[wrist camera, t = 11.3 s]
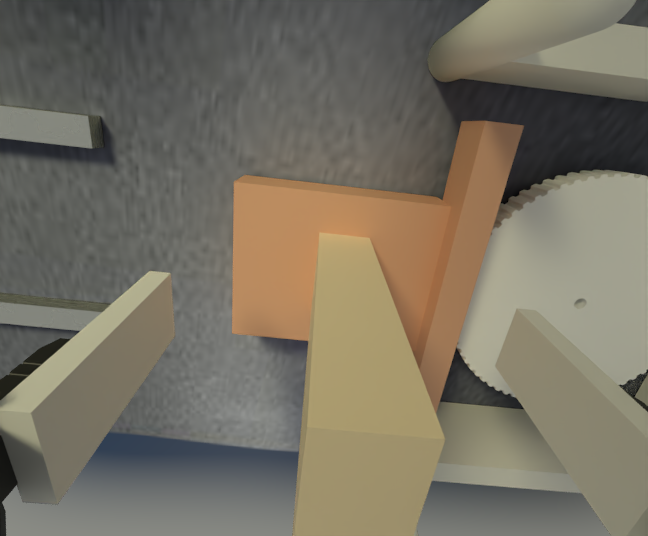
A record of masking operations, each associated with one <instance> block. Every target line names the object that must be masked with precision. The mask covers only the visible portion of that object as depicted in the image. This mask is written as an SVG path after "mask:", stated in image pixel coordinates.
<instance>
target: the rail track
mask: <svg viewBox="0 0 648 536" xmlns="http://www.w3.org/2000/svg"><path fill="white" fill-rule="evenodd" d="M0 138H5V139H14V140H22V141H31V142H40V143H48V144H57V145H66V146H75V147H83V148H92V149H93V148H102V147H104V142H103V134H102V126H101V118H100V116H92V115H84V114H75V113H67V112H58V111H50V110H41V109H33V108H25V107H16V106H8V105H0ZM110 305H111V304H104V303H94V302H83V301H73V300H63V299H53V298H43V297H33V296H23V295H13V294H3V293H0V323H4V324H14V325H24V326H35V327H45V328H56V329H66V330H76V331H81V330H82V329H83V328H85V327H86V326H87V325H88V324H89V323H90V322H92V321H93V320H94V319H95V318H96V317H97V316H98V315H100V314H101V313H102V312H103V311H104V310H105V309H107V308H108V307H109V306H110Z"/></svg>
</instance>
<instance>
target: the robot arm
mask: <svg viewBox="0 0 648 536" xmlns="http://www.w3.org/2000/svg"><path fill="white" fill-rule="evenodd" d="M174 337H175V329H174V314H173V299H172V285H171V273H163V272H154V271H149V272H148V273H147V274H146V275H145V276H143V277H142V278H141V279H140V280H139V281H138V282H137V283H135V284H134V285H133V286H132V287H131V288H130V289H128V290H127V291H126V292H125V293H124V294H123V295H122V296H120V297H119V298H118V299H117V300H116V301H115V302H113V303H112V304H111V305H110V306H109V307H108V308H107V309H105V310H104V311H103V312H102V313H101V314H100V315H98V316H97V317H96V318H95V319H94V320H93V321H92V322H90V323H89V324H88V325H87V326H86V327H85V328H83V329H82V330H81V331H80V332H79V333H78V334H77V335H75V336H74V337H73V338H72V339H62V338H60V339H58V340H56V341H54V342H52V343H50V344H48V345H46V346H44V347H42V348H40V349H38V350H37V351H36V352H35V353H33V354H32V355H31V356H30V357H28V358H27V359H26V360H25V361H23V364H20V365H18V366H17V367H16V368H15V369H13V370H12V371H11V372H10V374H9V375H6V376H5V377H4V378H2V379H1V380H0V536H6V516H5V509H4V506H3V504H2V501H3V500H4V499H5V498H6V497H7V496H8V494H9V493H10V492H11V491H12V490H13V488H14V487H15V486H16V485H17V487H18V490H19V493H20V496H21V499H22V501H23V502H26V503H39V504H52V505H58V504H59V502H60V501H61V499H62V498H63V497H64V495H65V494H66V492H67V491H68V489H69V488H70V486H71V485H72V484H73V482H74V481H75V479H76V478H77V476H78V475H79V473H80V472H81V471H82V469H83V468H84V466H85V465H86V463H87V462H88V461H89V459H90V458H91V456H92V455H93V453H94V452H95V450H96V449H97V448H98V446H99V445H100V443H101V442H102V440H103V439H104V437H105V436H106V435H107V433H108V432H109V430H110V429H111V427H112V426H113V424H114V423H115V422H116V420H117V419H118V417H119V416H120V414H121V413H122V412H123V410H124V409H125V407H126V406H127V404H128V403H129V401H130V400H131V399H132V397H133V396H134V394H135V393H136V391H137V390H138V388H139V387H140V386H141V384H142V383H143V381H144V380H145V378H146V377H147V375H148V374H149V373H150V371H151V370H152V368H153V367H154V365H155V364H156V362H157V361H158V360H159V358H160V357H161V355H162V354H163V352H164V351H165V350H166V348H167V347H168V345H169V344H170V342H171V341H172V339H173V338H174ZM495 367H496V368H497V370H498V371H499V373H500V374H501V376H502V377H503V379H504V380H505V381H506V383H507V384H508V386H509V387H510V389H511V390H512V392H513V393H514V395H515V396H516V398H517V399H518V401H519V402H520V403H521V405H522V406H523V408H524V409H525V411H526V412H527V414H528V415H529V417H530V418H531V420H532V421H533V422H534V424H535V425H536V427H537V428H538V430H539V431H540V433H541V434H542V436H543V437H544V439H545V440H546V441H547V443H548V444H549V446H550V447H551V449H552V450H553V452H554V453H555V455H556V456H557V458H558V459H559V460H560V462H561V463H562V465H563V466H564V468H565V469H566V471H567V472H568V474H569V475H570V477H571V478H572V479H573V481H574V482H575V484H576V485H577V487H578V488H579V490H580V491H581V493H582V494H583V496H584V497H585V498H586V500H587V501H588V503H589V504H590V506H591V507H592V509H593V510H594V512H595V513H596V515H597V516H598V517H599V519H600V520H601V522H602V523H603V525H604V526H605V528H606V529H607V531H608V532H609V534H610V535H611V536H648V406H647V405H646V404H645V403H643V402H642V401H640V400H639V399H637V398H636V397H634V396H632V395H631V394H629V393H628V392H626V391H625V390H623V389H622V388H621V387H620V386H619V385H617V384H616V383H615V382H614V381H613V380H612V379H611V378H610V377H609V376H608V375H606V374H605V373H604V372H603V371H602V370H601V369H600V368H599V367H598V366H597V365H596V364H594V363H593V362H592V361H591V360H590V359H589V358H588V357H587V356H586V355H585V354H583V353H582V352H581V351H580V350H579V349H578V348H577V347H576V346H575V345H574V344H572V343H571V342H570V341H569V340H568V339H567V338H566V337H565V336H564V335H563V334H562V333H560V332H559V331H558V330H557V329H556V328H555V327H554V326H553V325H552V324H551V323H549V322H548V321H547V320H546V319H545V318H544V317H543V316H542V315H541V314H540V313H538V312H537V311H536V310H528V309H518V308H517V309H516V312H515V314H514V317H513V320H512V322H511V325H510V327H509V330H508V333H507V335H506V338H505V341H504V343H503V346H502V349H501V351H500V354H499V357H498V359H497V362H496V365H495Z"/></svg>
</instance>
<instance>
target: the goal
mask: <svg viewBox="0 0 648 536" xmlns="http://www.w3.org/2000/svg"><path fill="white" fill-rule="evenodd" d="M636 1H637V0H490V1H488V2H487V3H486V4H484V5H483V6H482V7H480V8H479V9H478V10H476V11H475V12H474V13H472V14H471V15H470V16H468V17H467V18H466V19H465V20H463V21H462V22H461V23H459V24H458V25H457V26H455V27H454V28H453V29H451V30H450V31H449V32H447V33H446V34H445V35H443V36H442V37H441V38H439V39H438V40H437V41H436V42H435V43H434V44H433V46H432V48H431V50H430V52H429V56H428V67H429V70H430V73H431V74H432V76H433V77H434V78H435V79H437V80H438V81H441V82H451V81H454V80H457V79H460V78H462V79H470V80H478V81H485V82H493V83H501V84H509V85H517V86H525V87H533V88H541V89H549V90H556V91H564V92H572V93H580V94H588V95H596V96H604V97H612V98H620V99H628V100H635V101H643V102H648V28H647V27H640V26H632V25H625V24H618V23H616V22H618V21H619V20H620V19H621V18H623V17H624V16H625V15H626V14H627V12H628V11H629V10H630V9H631V8H632V6H633V5H634V4H635V2H636ZM635 397H636V398H637V399H639V400H640V401H642V402H643V403H645V404H646V405H647V406H648V374H647V376H646V378H645V379H644V381H643V383H642V385H641V386H640V388H639V390H638V392H637V393H636V395H635ZM436 416H437V418H438V421H439V424H440V426H441V429H442V432H443V434H444V437H445V439H446V440H445V443H444V446H443V449H442V452H441V455H440V458H439V461H438V464H437V467H436V470H435V473H434V476H433V479H432V481H441V482H454V483H465V484H478V485H489V486H502V487H513V488H525V489H536V490H548V491H561V492H573V493H581V491H580V490H579V488H578V487H577V485H576V484H575V482H574V481H573V479H572V478H571V477H570V475H569V474H568V472H567V471H566V469H565V468H564V466H563V465H562V463H561V462H560V460H559V459H558V458H557V456H556V455H555V453H554V452H553V450H552V449H551V447H550V446H549V444H548V443H547V441H546V440H545V439H544V437H543V436H542V434H541V433H540V431H539V430H538V428H537V427H536V425H535V424H534V422H533V421H532V420H531V418H530V417H529V415H528V414H527V412H526V411H525V409H514V408H504V407H493V406H482V405H471V404H460V403H449V402H439V405H438V409H437V412H436ZM414 536H418V531H417V527H416V530H415V533H414Z"/></svg>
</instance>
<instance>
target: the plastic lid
mask: <svg viewBox="0 0 648 536" xmlns="http://www.w3.org/2000/svg"><path fill="white" fill-rule="evenodd" d="M517 308H518V309H528V310H536V311H537V312H538V313H540V314H541V315H542V316H543V317H544V318H545V319H546V320H547V321H548V322H549V323H551V324H552V325H553V326H554V327H555V328H556V329H557V330H558V331H559V332H560V333H562V334H563V335H564V336H565V337H566V338H567V339H568V340H569V341H570V342H571V343H572V344H574V345H575V346H576V347H577V348H578V349H579V350H580V351H581V352H582V353H583V354H585V355H586V356H587V357H588V358H589V359H590V360H591V361H592V362H593V363H594V364H596V365H597V366H598V367H599V368H600V369H601V370H602V371H603V372H604V373H605V374H606V375H608V376H609V377H610V378H611V379H612V380H613V381H614V382H615V383H616V384H617V385H620V384H621V385H624V384H626V383H627V381H628V380H630V379H631V380H634V379H636V378H637V375H639V374H644V373H646V372H647V371H646V370H647V369H648V176H645V175H639V174H633V173H627V172H621V171H612V170H605V171H603V170H592V171H586V170H583V171H580V173H575V172H570V173H568V174H567V176H563V175H558V176H555V179H554V180H551V179H546V180H543V183H542V184H540V185H539V184H534V185H532V186H531V189H529V190H522V191H520V192H519V195H518V196H517V197H514V196H512V197H510V198H509V199H508V203H506V204H503V203H502V204H500V206H499V209H498V213H497V216H496V219H495V222H494V226H493V229H492V232H491V235H490V239H489V242H488V245H487V248H486V252H485V255H484V258H483V262H482V265H481V268H480V271H479V275H478V278H477V281H476V284H475V288H474V291H473V294H472V297H471V301H470V304H469V307H468V311H467V314H466V317H465V320H464V324H463V327H462V330H461V333H460V337H459V340H458V343H457V346H456V348H457V350H458V352H459V353H460V355H461V357H462V358H463V360H464V362H465V363H466V364H467V365H468V367H469V369H470V370H472V371H473V372H474V374H475V375H476V376H477V377H478V376H479V378H480V379H481V381H483V382H485V381H486V383H487V384H488V386H490V387H492V386H494V388H495V390H497V391H500V390H502V392H503V393H504V394H506V395H507V394H509V393H510V394H511V396H512V397H516V396H515V395H514V393H513V392H512V390H511V389H510V387H509V386H508V384H507V383H506V381H505V380H504V379H503V377H502V376H501V374H500V373H499V371H498V370H497V368H496V367H495V365H496V362H497V359H498V357H499V354H500V351H501V349H502V346H503V343H504V341H505V338H506V335H507V333H508V330H509V327H510V325H511V322H512V320H513V317H514V314H515V312H516V309H517Z"/></svg>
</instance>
